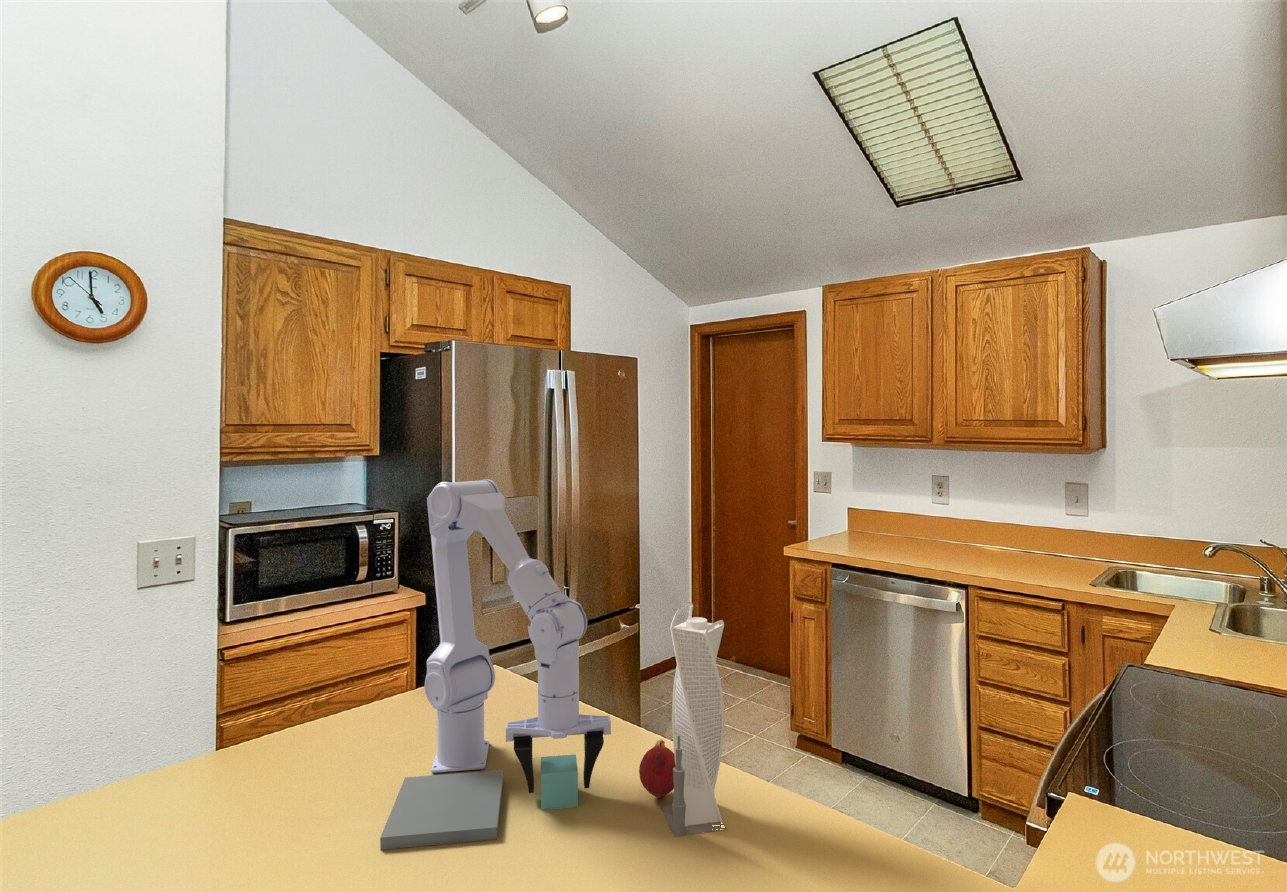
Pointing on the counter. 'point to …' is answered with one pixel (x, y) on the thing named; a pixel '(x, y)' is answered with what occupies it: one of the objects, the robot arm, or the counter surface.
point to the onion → (658, 770)
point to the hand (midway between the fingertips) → (559, 786)
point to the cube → (559, 782)
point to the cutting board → (445, 810)
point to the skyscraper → (696, 726)
